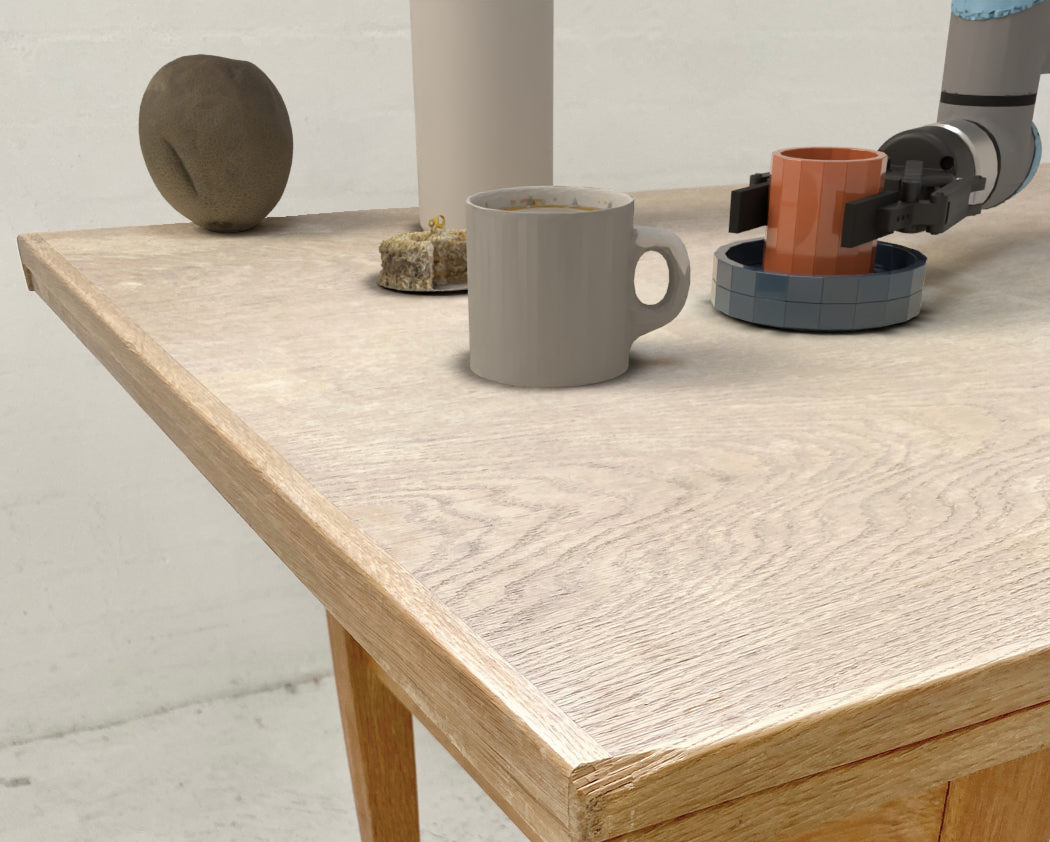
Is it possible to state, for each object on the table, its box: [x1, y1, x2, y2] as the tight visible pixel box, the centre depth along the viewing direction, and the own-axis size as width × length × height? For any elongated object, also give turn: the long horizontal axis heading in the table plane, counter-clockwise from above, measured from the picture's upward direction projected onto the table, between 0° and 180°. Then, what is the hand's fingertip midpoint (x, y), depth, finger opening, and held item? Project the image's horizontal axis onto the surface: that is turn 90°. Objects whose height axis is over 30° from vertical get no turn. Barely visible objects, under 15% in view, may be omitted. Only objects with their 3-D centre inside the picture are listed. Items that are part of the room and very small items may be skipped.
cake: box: [376, 215, 468, 293], centre depth 100 cm, size 10×10×5 cm
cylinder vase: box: [408, 0, 555, 231], centre depth 115 cm, size 12×12×25 cm
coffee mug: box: [466, 185, 692, 388], centre depth 78 cm, size 13×10×10 cm
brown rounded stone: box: [138, 53, 294, 233], centre depth 119 cm, size 14×14×15 cm
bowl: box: [710, 236, 929, 332], centre depth 92 cm, size 15×15×4 cm
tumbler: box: [762, 146, 888, 275], centre depth 90 cm, size 8×8×10 cm
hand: (790, 218), depth 86 cm, fingers closed on tumbler, 8 cm apart
